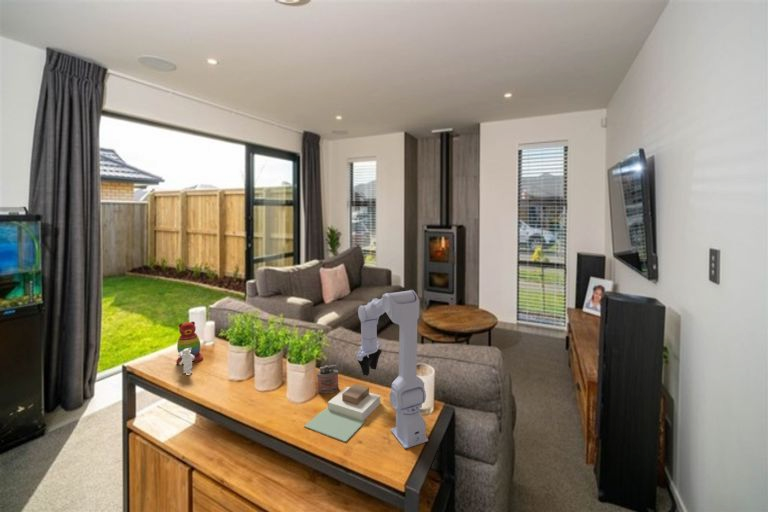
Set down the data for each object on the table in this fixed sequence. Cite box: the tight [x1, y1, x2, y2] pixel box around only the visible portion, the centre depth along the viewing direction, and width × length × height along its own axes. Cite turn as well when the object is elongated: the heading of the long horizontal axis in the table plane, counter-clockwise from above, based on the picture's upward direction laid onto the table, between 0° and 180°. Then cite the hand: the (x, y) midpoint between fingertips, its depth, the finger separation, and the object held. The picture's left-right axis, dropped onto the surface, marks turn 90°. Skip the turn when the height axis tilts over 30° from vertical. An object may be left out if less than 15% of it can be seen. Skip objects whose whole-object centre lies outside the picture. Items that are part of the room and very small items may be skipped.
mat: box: [303, 408, 366, 443], centre depth 110 cm, size 11×16×1 cm
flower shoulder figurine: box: [177, 348, 195, 374], centre depth 145 cm, size 9×4×12 cm, turn 61°
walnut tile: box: [342, 383, 370, 405], centre depth 120 cm, size 8×6×2 cm
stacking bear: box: [176, 321, 204, 365], centre depth 159 cm, size 11×10×18 cm
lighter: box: [316, 364, 340, 394], centre depth 130 cm, size 8×3×10 cm, turn 105°
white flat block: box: [327, 386, 381, 421], centre depth 120 cm, size 12×14×3 cm
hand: (369, 371), depth 128 cm, fingers open, 5 cm apart
